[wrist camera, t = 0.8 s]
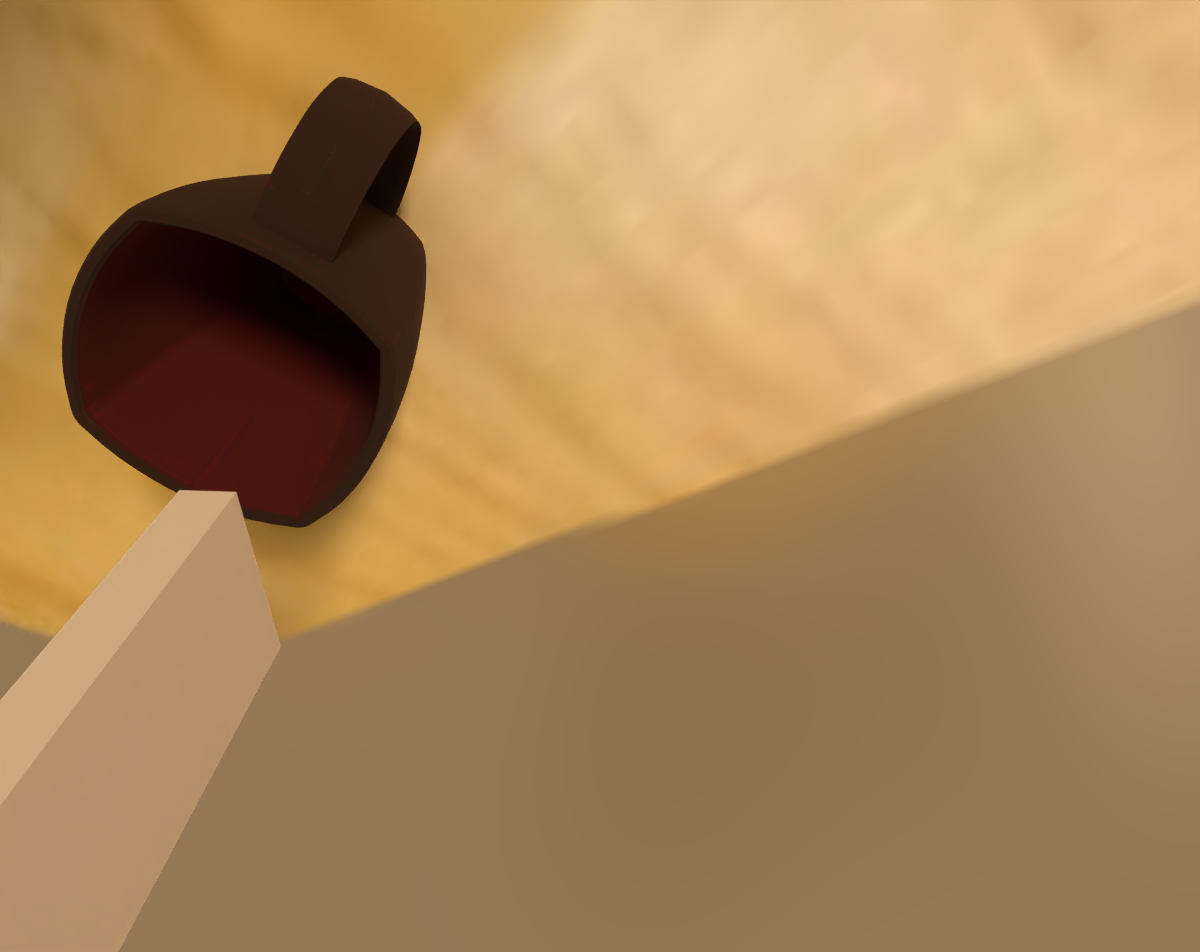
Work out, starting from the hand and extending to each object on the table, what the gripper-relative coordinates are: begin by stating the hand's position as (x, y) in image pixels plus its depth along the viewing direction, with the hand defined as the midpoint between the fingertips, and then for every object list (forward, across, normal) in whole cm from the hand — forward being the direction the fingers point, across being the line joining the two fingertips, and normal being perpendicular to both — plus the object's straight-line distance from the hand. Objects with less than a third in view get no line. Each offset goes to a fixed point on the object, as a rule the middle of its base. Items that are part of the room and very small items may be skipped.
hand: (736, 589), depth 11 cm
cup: (+26, -13, -3) cm, 30 cm away
